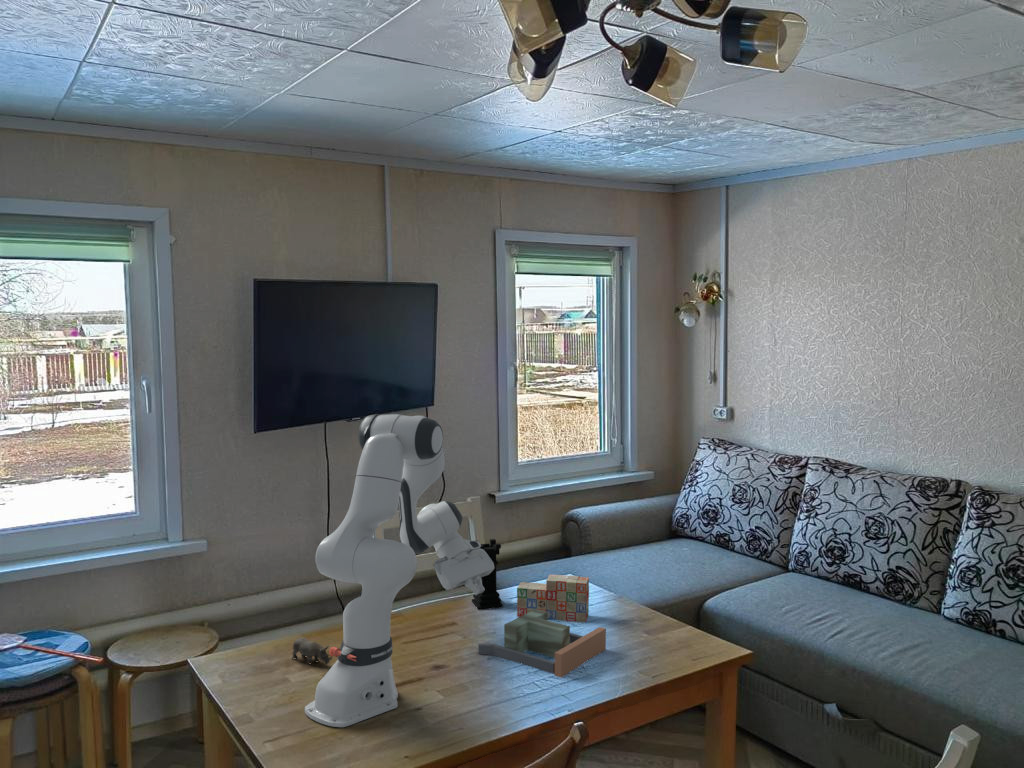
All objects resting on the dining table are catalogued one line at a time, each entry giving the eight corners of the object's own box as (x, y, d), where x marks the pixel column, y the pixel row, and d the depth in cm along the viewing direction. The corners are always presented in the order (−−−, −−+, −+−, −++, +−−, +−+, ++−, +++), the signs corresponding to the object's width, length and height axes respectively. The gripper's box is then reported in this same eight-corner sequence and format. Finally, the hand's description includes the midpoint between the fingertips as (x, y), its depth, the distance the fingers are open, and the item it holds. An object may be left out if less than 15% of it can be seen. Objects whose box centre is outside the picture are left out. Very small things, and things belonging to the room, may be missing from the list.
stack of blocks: (516, 617, 252) (516, 578, 251) (520, 610, 258) (520, 571, 257) (586, 623, 247) (586, 582, 246) (589, 615, 253) (589, 576, 252)
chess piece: (471, 601, 266) (471, 540, 264) (495, 599, 268) (495, 538, 266) (478, 609, 258) (477, 547, 256) (502, 607, 260) (502, 544, 259)
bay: (558, 679, 208) (558, 656, 207) (476, 653, 224) (476, 632, 224) (607, 648, 227) (607, 627, 227) (529, 627, 243) (529, 607, 243)
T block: (549, 666, 215) (549, 637, 215) (504, 653, 224) (504, 624, 224) (580, 648, 227) (580, 620, 227) (536, 636, 236) (536, 608, 236)
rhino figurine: (325, 671, 213) (325, 648, 213) (288, 659, 221) (288, 637, 220) (337, 665, 217) (336, 643, 216) (300, 654, 224) (300, 632, 224)
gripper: (436, 555, 233) (462, 596, 228) (482, 540, 249) (508, 577, 244) (424, 568, 236) (450, 608, 231) (471, 552, 252) (496, 589, 247)
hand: (480, 592), depth 238 cm, fingers closed
